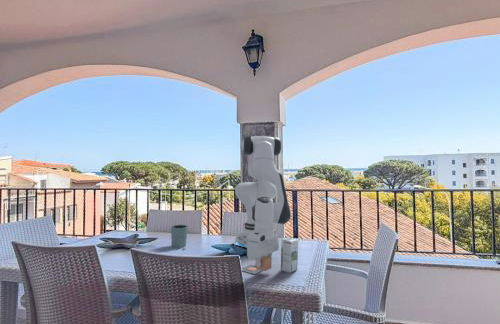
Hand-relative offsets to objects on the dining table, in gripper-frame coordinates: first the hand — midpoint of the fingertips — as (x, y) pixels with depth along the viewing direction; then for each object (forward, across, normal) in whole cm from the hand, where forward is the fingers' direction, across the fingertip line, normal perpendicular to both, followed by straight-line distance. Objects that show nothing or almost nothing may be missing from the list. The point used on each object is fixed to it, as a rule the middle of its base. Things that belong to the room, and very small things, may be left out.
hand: (263, 264), depth 134 cm
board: (+4, -1, -7) cm, 8 cm away
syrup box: (+4, -12, +6) cm, 14 cm away
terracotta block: (+2, 0, 0) cm, 2 cm away
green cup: (+5, -6, -66) cm, 67 cm away
